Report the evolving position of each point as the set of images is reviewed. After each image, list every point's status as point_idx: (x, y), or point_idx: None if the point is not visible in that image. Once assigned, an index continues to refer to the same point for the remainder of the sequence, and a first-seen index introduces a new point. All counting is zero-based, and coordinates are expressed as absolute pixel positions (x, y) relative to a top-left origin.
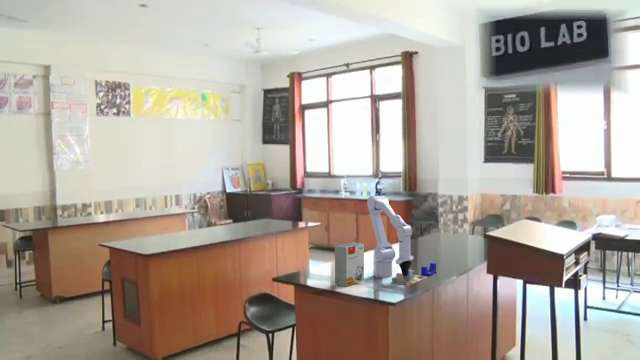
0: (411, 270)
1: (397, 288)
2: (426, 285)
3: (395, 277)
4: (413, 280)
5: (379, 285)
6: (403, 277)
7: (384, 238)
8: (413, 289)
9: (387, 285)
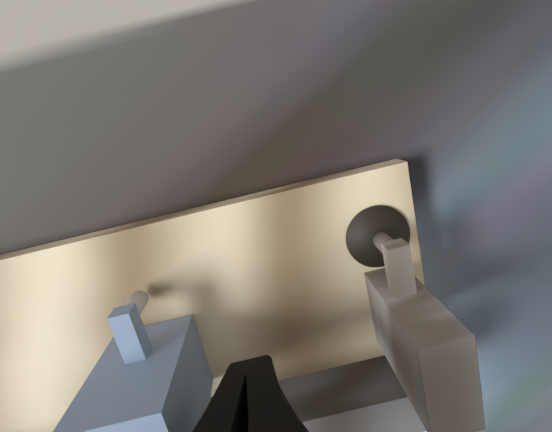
0: (90, 428)
1: (500, 222)
2: (111, 71)
3: (393, 420)
4: None
5: (522, 421)
6: None
7: None
8: (406, 52)
9: None
